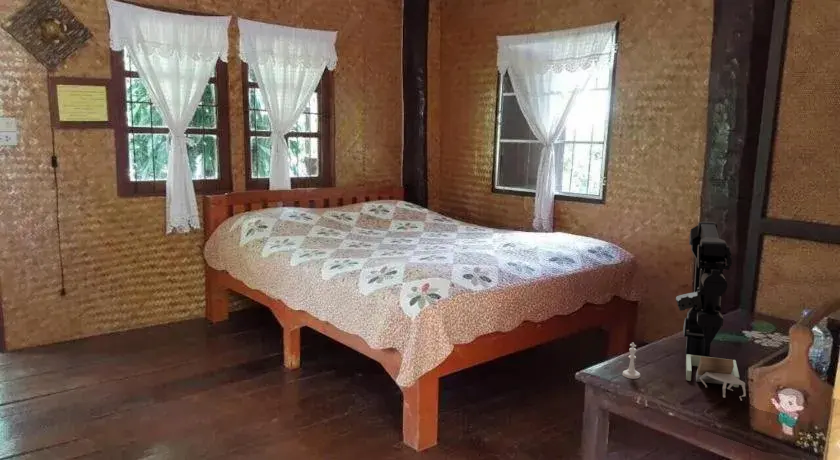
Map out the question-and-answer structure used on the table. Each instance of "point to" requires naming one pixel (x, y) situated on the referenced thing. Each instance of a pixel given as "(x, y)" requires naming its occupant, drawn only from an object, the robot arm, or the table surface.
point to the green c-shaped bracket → (694, 361)
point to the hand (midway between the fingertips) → (706, 339)
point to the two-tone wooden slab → (713, 368)
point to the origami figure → (725, 381)
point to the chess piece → (631, 365)
